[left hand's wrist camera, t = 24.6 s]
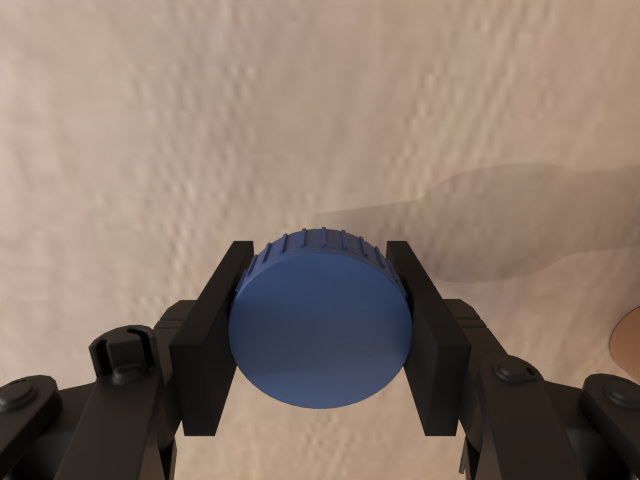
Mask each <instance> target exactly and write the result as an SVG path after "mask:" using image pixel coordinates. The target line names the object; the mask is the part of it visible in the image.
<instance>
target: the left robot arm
mask: <svg viewBox="0 0 640 480" xmlns="http://www.w3.org/2000/svg"><path fill="white" fill-rule="evenodd" d="M253 258H254V247H253V241H234V242H233V243H232V245H231V246H230V248H229V250H228V251H227V253H226V254H225V256H224V258H223V259H222V261H221V262H220V264H219V266H218V267H217V269H216V270H215V272H214V274H213V275H212V277H211V278H210V280H209V282H208V283H207V285H206V286H205V288H204V289H203V291H202V293H201V294H200V296H199V297H198V299H197V300H180V301H178V302H177V303H175V304H174V305H172V306H171V307H169V308H168V309H167V310H166V312H165V313H164V314H163V316H162V317H161V318H160V321H158V322H157V324H156V325H155V326H154V329H151V328H150V327H148V326H143V325H128V326H124V327H119V328H116V329H113V330H111V331H108V332H106V333H104V334H102V335H101V336H100V337H98V338H97V339H95V340H94V341H93V342H92V343H91V345H90V346H89V351H90V355H91V358H92V362H93V366H94V369H95V373H96V376H97V379H96V381H95V382H93V383H90V384H86V385H82V386H77V387H72V388H68V389H63V390H58V387H57V384H56V381H55V380H54V379H53V378H52V377H50V376H45V375H35V376H28V377H24V378H20V379H17V380H15V381H12V382H10V383H8V384H6V385H4V386H2V387H0V480H174V473H175V464H176V455H177V447H176V441H175V434H176V431H177V429H178V427H179V425H180V422H181V420H182V424H183V430H184V436H215V434H216V431H217V428H218V424H219V421H220V418H221V415H222V412H223V409H224V405H225V402H226V399H227V396H228V393H229V390H230V386H231V383H232V380H233V377H234V374H235V371H236V367H237V364H236V362H235V360H234V358H233V355H232V353H231V350H230V343H229V334H228V319H229V315H230V310H231V308H230V306H231V304H232V301H233V299H234V297H235V295H236V292H235V291H236V289H237V286H238V284H239V282H240V280H241V278H242V275H243V273H244V271H245V269H249V267H250V264H251V262H252V260H253ZM388 259H389V260H390V262H391V264H392V266H393V268H394V271H395V273H396V274H398V276H399V279H400V281H401V283H402V285H403V287H404V290H405V292H406V294H407V296H408V298H407V299H406V301H407V304H408V306H409V309H410V312H411V317H412V322H413V326H412V337H411V346H410V351H409V354H408V357H407V359H406V361H405V363H404V365H403V367H404V370H405V373H406V376H407V379H408V383H409V386H410V389H411V392H412V395H413V398H414V402H415V405H416V408H417V411H418V414H419V417H420V421H421V424H422V427H423V430H424V433H425V436H456V431H457V426H458V420H460V422H461V424H462V427H463V429H464V431H465V434H466V436H465V441H464V446H463V451H462V457H461V462H460V468H459V473H461V474H464V470H465V472H466V480H636V479H637V478H638V479H639V480H640V385H638V384H636V383H634V382H632V381H630V380H628V379H625V378H621V377H619V376H615V375H609V374H602V373H600V374H592V375H590V376H589V377H587V378H586V379H585V381H584V384H583V388H582V389H580V388H575V387H570V386H566V385H561V384H557V383H552V382H549V381H545V380H544V378H543V377H542V375H541V374H540V372H539V371H538V370H537V369H536V368H535V367H533V366H532V365H531V364H530V363H528V362H526V361H524V360H522V359H520V358H518V357H515V356H511V355H508V354H507V353H506V351H505V350H504V349H503V347H502V346H501V345H500V343H499V342H498V341H497V339H496V338H495V336H494V335H493V334H492V332H491V331H490V330H489V328H487V326H486V324H485V323H484V322H483V320H481V319H480V316H479V315H478V314H477V312H476V311H475V310H474V308H473V307H471V306H470V305H468V304H467V303H465V302H464V301H462V300H461V299H442V297H441V296H440V294H439V292H438V291H437V289H436V288H435V286H434V284H433V283H432V281H431V280H430V278H429V276H428V275H427V273H426V272H425V270H424V268H423V267H422V265H421V264H420V262H419V260H418V259H417V257H416V256H415V254H414V252H413V251H412V249H411V248H410V246H409V244H408V243H407V241H387V250H386V260H388Z"/></svg>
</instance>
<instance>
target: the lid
mask: <svg viewBox="0 0 640 480" xmlns="http://www.w3.org/2000/svg"><path fill="white" fill-rule="evenodd" d="M235 292H236V295H235V297H234V299H233V301H232V304H231V306H230V308H231V310H230V315H229V319H228V334H229V343H230V350H231V353H232V355H233V358H234V360H235V362H236V364H237V365H238V367H239V369H240V370H241V372H242V373H243V374H244V375H245V377H246V378H247V379H248V380H249V381H250V382H251V383H252V384H253V385H254V386H256V387H257V388H258V389H260V390H261V391H262V392H264V393H265V394H267V395H269V396H270V397H272V398H275V399H277V400H279V401H281V402H284V403H287V404H290V405H294V406H299V407H304V408H313V409H327V408H337V407H342V406H347V405H350V404H353V403H357V402H359V401H362V400H364V399H366V398H368V397H370V396H372V395H374V394H375V393H377V392H378V391H380V390H381V389H382V388H384V387H385V386H386V385H387V384H388V383H389V382H391V381H392V380H393V378H394V377H395V376H396V375H397V374H398V372H399V371H400V370H401V368H402V366H403V365H404V363H405V361H406V359H407V357H408V354H409V351H410V346H411V337H412V326H413V322H412V317H411V312H410V309H409V306H408V304H407V301H406V299H407V298H408V296H407V294H406V292H405V290H404V287H403V285H402V283H401V281H400V279H399V276H398V274H396V273H395V271H394V268H393V266H392V264H391V262H390V260H389V259H388V260H386V259H385V258H384V256H383V255H382V254H381V253H380V251H379V248H378V247H377V246H376V247H375V248H374V247H373V246H372V245H370V244H369V243H367V242H366V241H364V239H363V237H361V236H360V237H356V236H354V235H351V234H349V233H345V230H342V231H337V230H330V229H326V227H322V229H311V230H306V228H304V229H302V231H299V232H295V233H292V234H289V235H287V233H286V234H284V235H283V237H282V238H280V239H278V240H277V241H275V242H273V243H272V244H271V243H270V242H269V243H268V244H267V246H266V248H265V249H264V250H263V251H262V252H261V253H260V254H259V255H255V256H254V258H253V260H252V262H251V264H250V267H249V269H245V271H244V273H243V275H242V278H241V280H240V282H239V284H238V286H237V289H236V291H235Z"/></svg>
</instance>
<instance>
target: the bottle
mask: <svg viewBox="0 0 640 480" xmlns="http://www.w3.org/2000/svg"><path fill="white" fill-rule="evenodd" d="M609 348H610V354H611V356H612V358H613V360H614V362H615V363H616V364H617V365H618V366H619V367H620V368H622V369H623V370H624V371H625V372H626V373H627V374H629V375H630V376H631V377H632V378H633V379H634V380H635V381H637V382H638V383H639V384H640V307H638V308H636V309H635V310H633V311H631V312H630V313H629V314H628V315H626V316H625V317H624V318H623V319H622V320H621V321H620V323H619V324H618V325H617V327H616V328H615V330H614V332H613V334H612V336H611V339H610V347H609Z"/></svg>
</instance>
